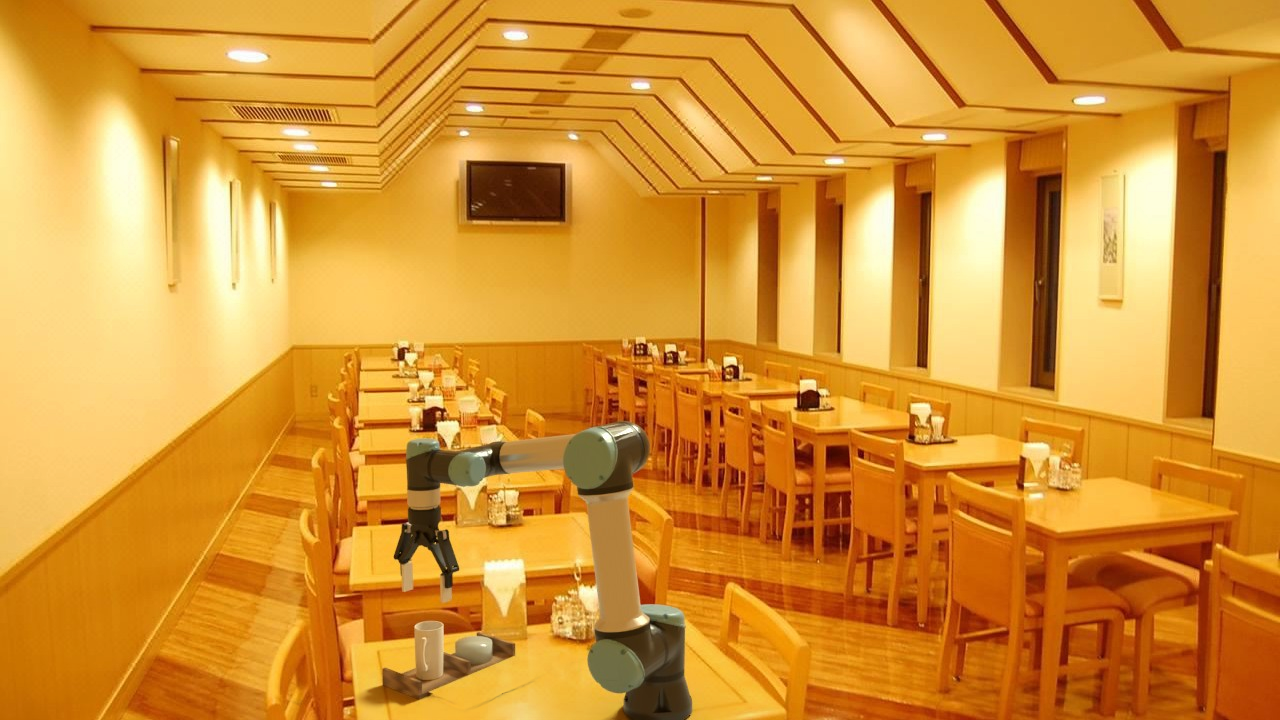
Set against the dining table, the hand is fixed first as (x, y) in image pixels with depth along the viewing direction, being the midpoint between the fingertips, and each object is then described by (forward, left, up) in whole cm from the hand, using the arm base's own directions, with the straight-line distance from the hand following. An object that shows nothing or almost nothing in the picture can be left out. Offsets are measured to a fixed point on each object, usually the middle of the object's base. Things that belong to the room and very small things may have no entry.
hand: (426, 595), depth 236 cm
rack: (0, -7, -21) cm, 22 cm away
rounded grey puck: (0, -15, -20) cm, 25 cm away
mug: (0, 0, -20) cm, 20 cm away
